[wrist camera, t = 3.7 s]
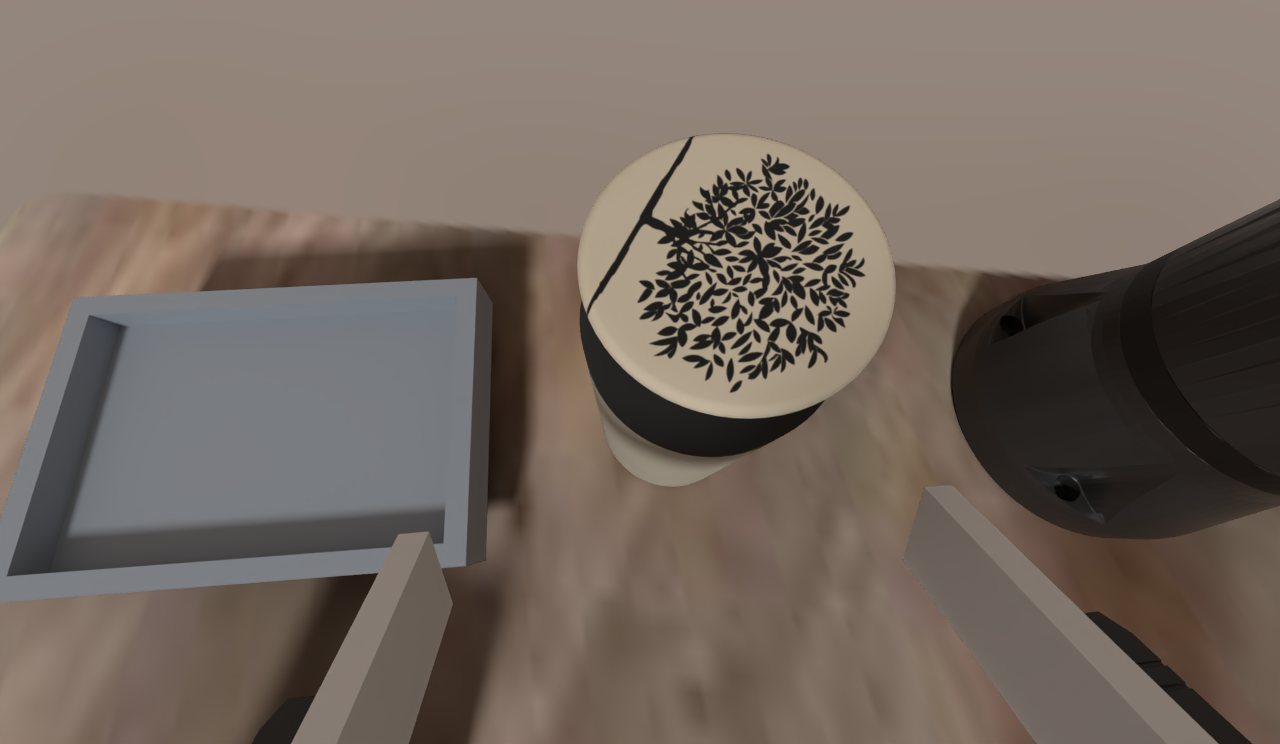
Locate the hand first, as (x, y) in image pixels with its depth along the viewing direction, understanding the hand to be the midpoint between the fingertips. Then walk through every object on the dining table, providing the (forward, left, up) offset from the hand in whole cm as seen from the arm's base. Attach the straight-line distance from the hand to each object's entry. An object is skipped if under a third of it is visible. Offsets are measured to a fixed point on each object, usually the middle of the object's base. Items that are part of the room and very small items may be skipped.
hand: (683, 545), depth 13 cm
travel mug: (-1, -6, -14) cm, 16 cm away
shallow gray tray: (+19, -6, -14) cm, 24 cm away
